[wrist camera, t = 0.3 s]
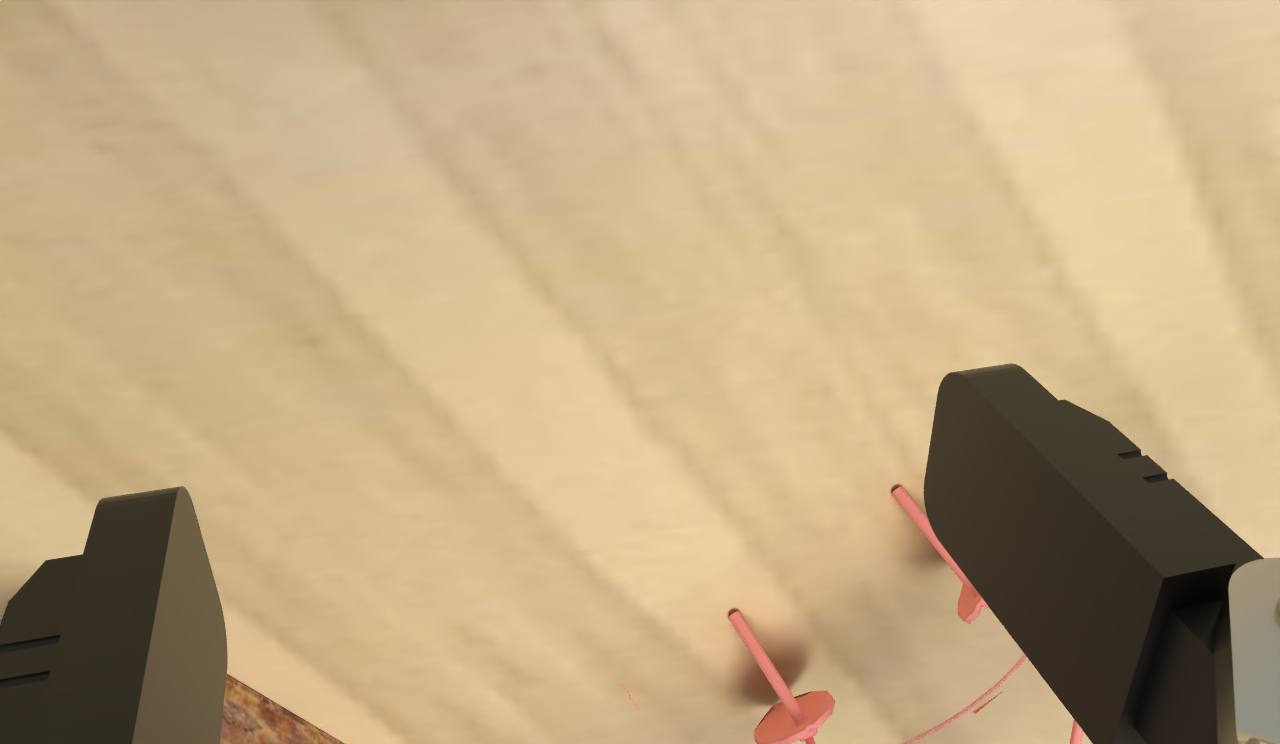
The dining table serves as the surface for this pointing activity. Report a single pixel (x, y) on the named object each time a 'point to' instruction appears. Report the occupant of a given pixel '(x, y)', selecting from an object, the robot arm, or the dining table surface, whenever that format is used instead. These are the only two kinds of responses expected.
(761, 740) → the pink flower ornament
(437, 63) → the dining table surface
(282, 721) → the book
